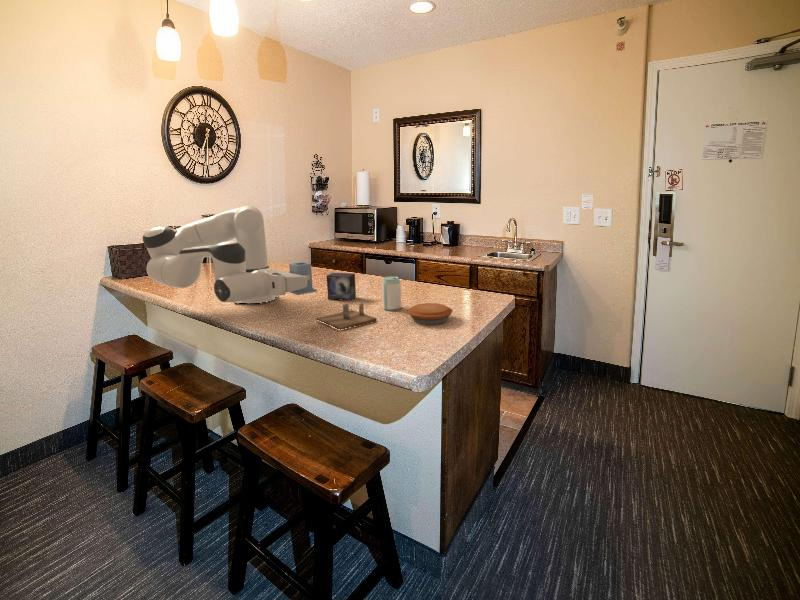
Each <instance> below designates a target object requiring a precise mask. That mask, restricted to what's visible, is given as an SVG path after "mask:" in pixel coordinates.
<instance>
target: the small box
mask: <svg viewBox="0 0 800 600" xmlns="http://www.w3.org/2000/svg"><path fill="white" fill-rule="evenodd" d="M326 289H327V300H329V299H342V300H341V301H344V300H351V301H353V300H354V299H356V298H357V293H356V292H357V291H356V273H355V272H354V273H351V272H350V273H349V272H331V273H329V274H327V275H326ZM355 297H356V298H355ZM352 299H353V300H352Z"/></svg>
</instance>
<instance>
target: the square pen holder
mask: <svg viewBox="0 0 800 600" xmlns="http://www.w3.org/2000/svg"><path fill="white" fill-rule="evenodd" d="M288 265H289V266H288V267H289V272H290V273H294V274H298V275H305V274H308V275H310V280H307V287H305V288H303V289H300V290H296V291H292V292H289V293H291V294H293V295H295V296H300V295H306V294H311V293H317V292H318V289H317V288H314V286H313V274H312V273H313V272H312V264H311V263H309V262H305V261H300V262H292V263H288Z"/></svg>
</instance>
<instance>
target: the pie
mask: <svg viewBox="0 0 800 600" xmlns="http://www.w3.org/2000/svg"><path fill="white" fill-rule="evenodd" d="M407 314H408V315H409V316H410V317H411V319H412V321H414V323H417V324H418V323H419V325H423V324H425V325H426V326H434V325H435V326H436V324H437V325H441V324H444V323H446V322H447V320H448V318H449V317H450V316H451V315H452V314H453V309H452V308H451V307H449V306H447V305H445V304H442V303H434V302H428V303H426V302H425V303H419V304H415V305H413V306H411V307H409V309H408V310H407ZM425 325H424V326H425Z"/></svg>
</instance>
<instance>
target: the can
mask: <svg viewBox="0 0 800 600" xmlns="http://www.w3.org/2000/svg"><path fill="white" fill-rule="evenodd" d="M401 290H402V289H401V281H400V278H399V277H398V276H392V275H391V276H383V279H382V281H381V295H382V296H381V303H382V305H381V306H382V309H384V310H385V309H386V310H385V311H397V309H398V310H399V309H401V307H402V305H401V304H402V297H401V294H402V293H401Z"/></svg>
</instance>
